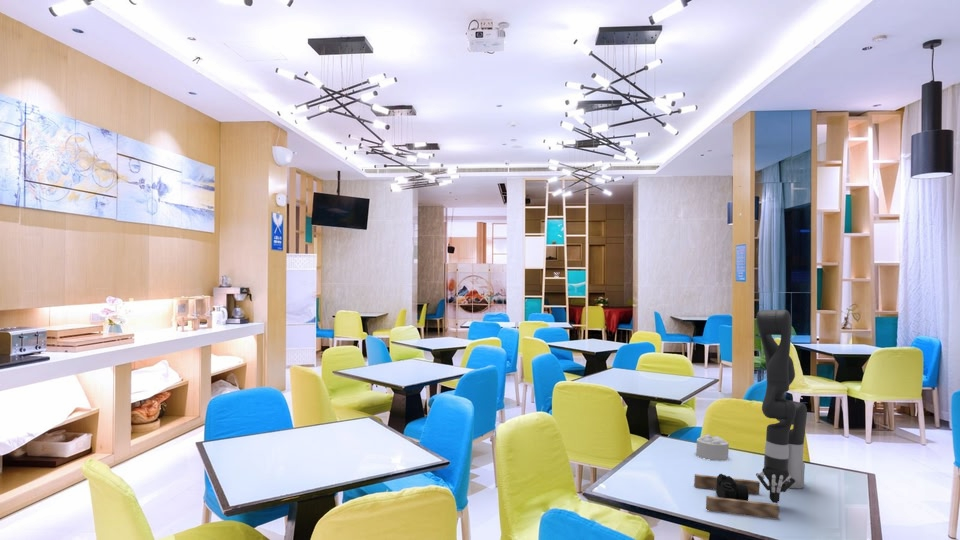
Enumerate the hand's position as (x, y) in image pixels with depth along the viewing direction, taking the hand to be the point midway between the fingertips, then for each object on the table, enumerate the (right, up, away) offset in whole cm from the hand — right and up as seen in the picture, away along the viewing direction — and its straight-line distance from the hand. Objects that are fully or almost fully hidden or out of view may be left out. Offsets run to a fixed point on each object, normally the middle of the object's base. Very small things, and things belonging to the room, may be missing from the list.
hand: (774, 501), depth 189 cm
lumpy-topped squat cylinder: (-2, -1, +48) cm, 48 cm away
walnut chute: (-13, -1, +3) cm, 14 cm away
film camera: (-14, -1, +3) cm, 14 cm away
